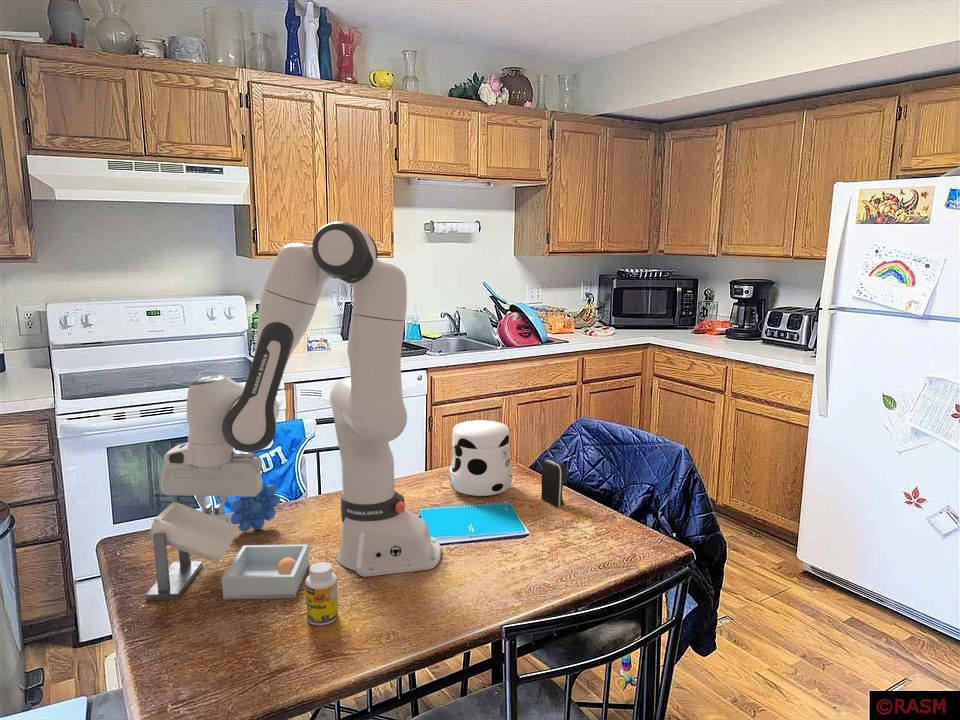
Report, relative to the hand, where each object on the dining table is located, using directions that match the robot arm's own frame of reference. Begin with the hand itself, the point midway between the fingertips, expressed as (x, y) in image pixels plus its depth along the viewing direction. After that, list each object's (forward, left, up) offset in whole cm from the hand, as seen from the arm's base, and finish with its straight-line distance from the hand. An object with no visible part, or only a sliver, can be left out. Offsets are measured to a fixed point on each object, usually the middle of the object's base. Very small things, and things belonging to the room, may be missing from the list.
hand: (213, 513), depth 142 cm
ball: (-18, +9, -8) cm, 21 cm away
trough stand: (+5, +9, -11) cm, 15 cm away
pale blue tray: (-14, +9, -11) cm, 20 cm away
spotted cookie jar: (-59, -38, -11) cm, 71 cm away
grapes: (-4, -16, -11) cm, 19 cm away
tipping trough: (+1, +6, -1) cm, 6 cm away
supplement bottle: (-27, +23, -11) cm, 37 cm away
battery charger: (-78, -29, -11) cm, 84 cm away
